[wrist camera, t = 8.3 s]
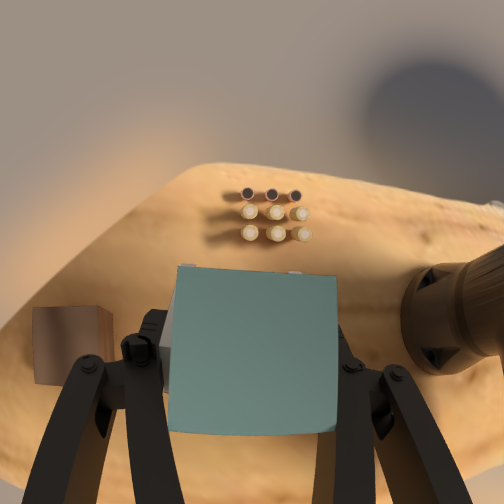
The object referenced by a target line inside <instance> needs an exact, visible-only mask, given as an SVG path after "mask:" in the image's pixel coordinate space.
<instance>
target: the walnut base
mask: <svg viewBox="0 0 504 504" xmlns="http://www.w3.org/2000/svg"><path fill="white" fill-rule="evenodd" d="M32 333H33V362H34V377H35V384H44V385H54V386H64V384H65V382H66V380H67V377H68V375H69V373H70V371H71V369H72V366H73V364H74V362H75V361H76V360H77V359H78V358H79V357H81V356H83V355H87V354H94V355H97V356H100V357H101V358H102V359H103V361H104V363H106V362H115V356H114V341H113V318H112V313H110V312H108V311H106V310H105V309H103V308H101V307H99V306H72V307H33V320H32Z"/></svg>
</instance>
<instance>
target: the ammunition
mask: <svg viewBox="0 0 504 504" xmlns="http://www.w3.org/2000/svg"><path fill="white" fill-rule="evenodd" d="M253 196H254V191H253V189H252V188H250V187H245V188H244V189H243V190H242V191H241V197H242V199H244V200H250V199H252V198H253ZM277 198H278V191H277V190H276V189H274V188H270V189H268V190H267V191H266V192H265V199H266V200H268V201H274V200H276V199H277ZM301 199H302V193H301V192H300V191H299V190H293V191H291V192H289V194H288V200H289V201H290V202H298V201H300V200H301ZM240 213H241V216H242V217H243V218H244V219H253V218H255V217H256V216H257V213H258V210H257V207H256V206H255V205H253V204H247V205H245V206H244V207H243V208H242V209H241V212H240ZM265 215H266V217H267V218H268V219H269V220H280V219H282V218H283V216H284V209H283V207H282V206H280V205H273V206H271V207H269V208H267V209H266V212H265ZM289 215H290V218H291V219H292V220H293V221H306V220H307V219H308V218H309V217H310V211H309V209H308V208H307V207H305V206H300V207H296V208H293V209H291V211H290V214H289ZM266 235H267V237H268V238H269V239H271V240H274V241H277V242H279V241H282V240H283V239H284V238H285V236H286V231H285V229H284V228H283V227H281V226H270V227H268V229H267V230H266ZM241 236H242V237H243V238H244V239H246V240H248V241H253V240H255V239H256V238H257V236H258V229H257V228H256V227H255V226H254V225H245V226H243V227H242V229H241ZM291 237H292V238H293V239H294V240H297V241H301V242H308V241H310V240H311V238H312V231H311V229H310V228H308V227H295V228H293V229H292V230H291Z"/></svg>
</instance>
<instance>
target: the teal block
mask: <svg viewBox="0 0 504 504" xmlns="http://www.w3.org/2000/svg"><path fill="white" fill-rule="evenodd" d="M337 399H338V306H337V280H336V276H328V275H310V274H292V273H275V272H259V271H244V270H229V269H214V268H200V267H186V266H178V270H177V280H176V290H175V301H174V312H173V325H172V339H171V355H170V375H169V402H168V431H175V432H185V433H197V434H212V435H240V436H266V435H294V434H309V433H321V432H331V431H335V427H336V423H337Z"/></svg>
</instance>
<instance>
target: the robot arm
mask: <svg viewBox="0 0 504 504" xmlns="http://www.w3.org/2000/svg"><path fill="white" fill-rule="evenodd" d="M181 266H186V267H196V265H194V264H182V265H181ZM288 273H292V274H302V272H300V271H288ZM175 290H176V285H175V289H174V292H173V295H172V299H171V303H170V306H169V310H157V309H151V310H150V311H149V312H148V313H147V314H146V315H145V317H144V319H143V322H142V325H141V328H140V330H139V333H135V334H131V335H129V336H126V337H125V338H124V339H123V340H122V342H121V349H122V354H123V360H120V361H115V362H106V363H104V361H103V359H102V358H101V357H100V356H97V355H94V354H87V355H83V356H81V357H79V358H78V359H77V360H76V361H75V362H74V364H73V366H72V369H71V371H70V373H69V375H68V377H67V380H66V382H65V384H64V386H63V389H62V391H61V393H60V395H59V398H58V400H57V403H56V405H55V407H54V410H53V412H52V415H51V417H50V420H49V422H48V425H47V427H46V430H45V433H44V435H43V438H42V441H41V443H40V446H39V449H38V452H37V455H36V458H35V461H34V464H33V467H32V470H31V473H30V476H29V479H28V483H27V486H26V489H25V493H24V497H23V501H22V504H96V501H97V495H98V490H99V485H100V480H101V475H102V470H103V466H104V461H105V456H106V452H107V448H108V444H109V439H110V435H111V431H112V427H113V423H114V419H115V416H116V412H117V409H125V411H126V426H127V439H128V449H129V459H130V467H131V475H132V482H133V489H134V495H135V502H136V504H185V502H184V499H183V495H182V491H181V487H180V483H179V478H178V474H177V470H176V465H175V461H174V456H173V451H172V447H171V442H170V436H169V431H168V426H167V420H166V414H165V409H164V402H163V396H162V393H163V387H164V392H165V393H169V375H170V355H171V339H172V325H173V312H174V301H175ZM401 328H402V334H403V339H404V342H405V345H406V348H407V350H408V352H409V354H410V356H411V357H412V359H413V360H414V361H415V363H416V364H417V365H418V366H419V367H420V368H422V369H423V370H424V371H426V372H428V373H431V374H434V375H451V374H456V373H459V372H462V371H463V370H465V369H467V368H469V367H470V366H472V365H474V364H475V363H477V362H479V361H480V360H482V359H484V358H485V357H489V356H497V355H500V359H501V364H502V369H503V374H504V244H503V245H501V246H499V247H497V248H496V249H494V250H492V251H490V252H488V253H486V254H484V255H482V256H480V257H478V258H477V259H475V260H473V261H471V262H467V263H440V264H436V265H433V266H431V267H429V268H427V269H426V270H424V271H422V272H420V273H419V274H418V275H417V276H416V277H415V278H414V279H413V280H412V281H411V283H410V284H409V286H408V288H407V290H406V293H405V295H404V299H403V303H402V309H401ZM373 443H374V444H373ZM374 446H375V449H376V452H377V455H378V458H379V461H380V464H381V467H382V470H383V473H384V476H385V479H386V482H387V485H388V488H389V492H390V495H391V498H392V501H393V504H473V503H472V500H471V498H470V495H469V493H468V491H467V488H466V486H465V484H464V481H463V479H462V477H461V474H460V472H459V470H458V468H457V466H456V463H455V461H454V459H453V457H452V455H451V453H450V450H449V448H448V446H447V444H446V442H445V440H444V438H443V436H442V434H441V432H440V430H439V428H438V426H437V424H436V422H435V420H434V418H433V416H432V414H431V412H430V410H429V408H428V406H427V404H426V402H425V401H424V399H423V397H422V395H421V393H420V391H419V389H418V388H417V386H416V384H415V382H414V380H413V378H412V377H411V375H410V373H409V372H408V371H407V369H405V368H404V367H402V366H399V365H395V364H391V365H388V366H386V367H385V368H384V370H383V372H381V371H376V370H370V369H367V368H366V367H365V365H364V364H363V362H362V361H360V360H359V359H357V358H354V357H353V355H352V352H351V350H350V348H349V346H348V343H347V341H346V339H345V338H344V335H343V333H342V330H341V328H340V326H339V324H338V399H337V423H336V427H335V431H331V432H321V433H318V444H317V457H316V468H315V478H314V488H313V497H312V504H376V493H375V462H374Z"/></svg>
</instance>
